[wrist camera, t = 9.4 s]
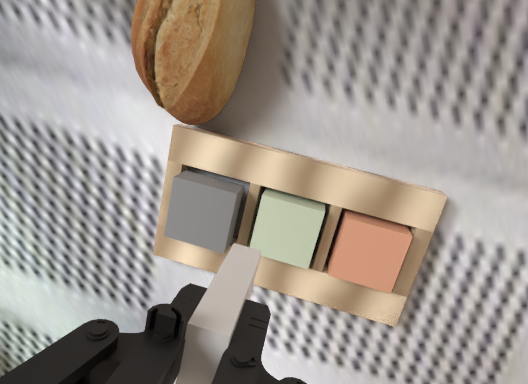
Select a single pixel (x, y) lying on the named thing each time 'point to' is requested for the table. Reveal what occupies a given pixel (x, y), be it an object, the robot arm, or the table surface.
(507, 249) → the table surface
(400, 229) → the terracotta tile
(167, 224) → the charcoal tile
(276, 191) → the sage tile
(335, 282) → the board
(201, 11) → the bread roll
